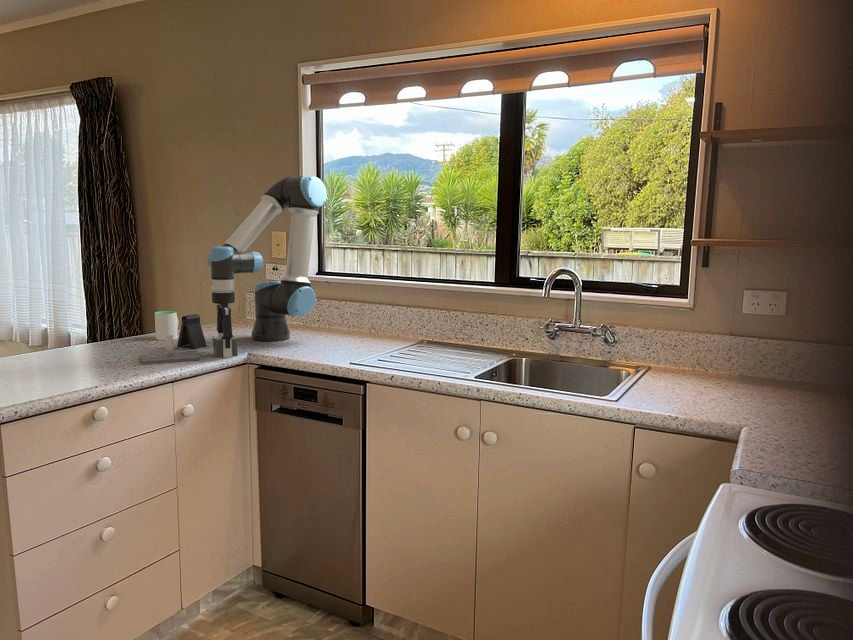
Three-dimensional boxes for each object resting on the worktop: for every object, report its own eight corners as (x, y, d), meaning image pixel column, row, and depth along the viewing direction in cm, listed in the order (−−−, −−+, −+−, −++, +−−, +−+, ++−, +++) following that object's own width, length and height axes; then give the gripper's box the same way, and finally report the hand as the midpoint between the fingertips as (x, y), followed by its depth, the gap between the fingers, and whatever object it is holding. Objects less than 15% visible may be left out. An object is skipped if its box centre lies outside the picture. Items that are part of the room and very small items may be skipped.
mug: (166, 334, 259) (165, 309, 257) (185, 335, 258) (184, 310, 256) (151, 339, 247) (150, 313, 245) (171, 340, 246) (170, 314, 245)
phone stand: (207, 347, 234) (205, 315, 233) (194, 349, 229) (193, 317, 227) (189, 344, 238) (188, 313, 237) (176, 347, 233) (175, 315, 231)
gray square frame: (233, 352, 226) (233, 334, 225) (237, 355, 219) (236, 338, 218) (213, 353, 222) (212, 336, 222) (216, 357, 216) (215, 339, 215)
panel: (196, 353, 222) (195, 331, 221) (200, 360, 212) (199, 336, 210) (140, 357, 214) (139, 334, 213) (141, 364, 204) (140, 340, 202)
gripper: (207, 288, 226) (209, 348, 229) (216, 295, 206) (219, 361, 209) (228, 288, 229) (230, 347, 233) (240, 294, 209) (242, 359, 212)
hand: (225, 354), depth 221 cm, fingers open, 10 cm apart
